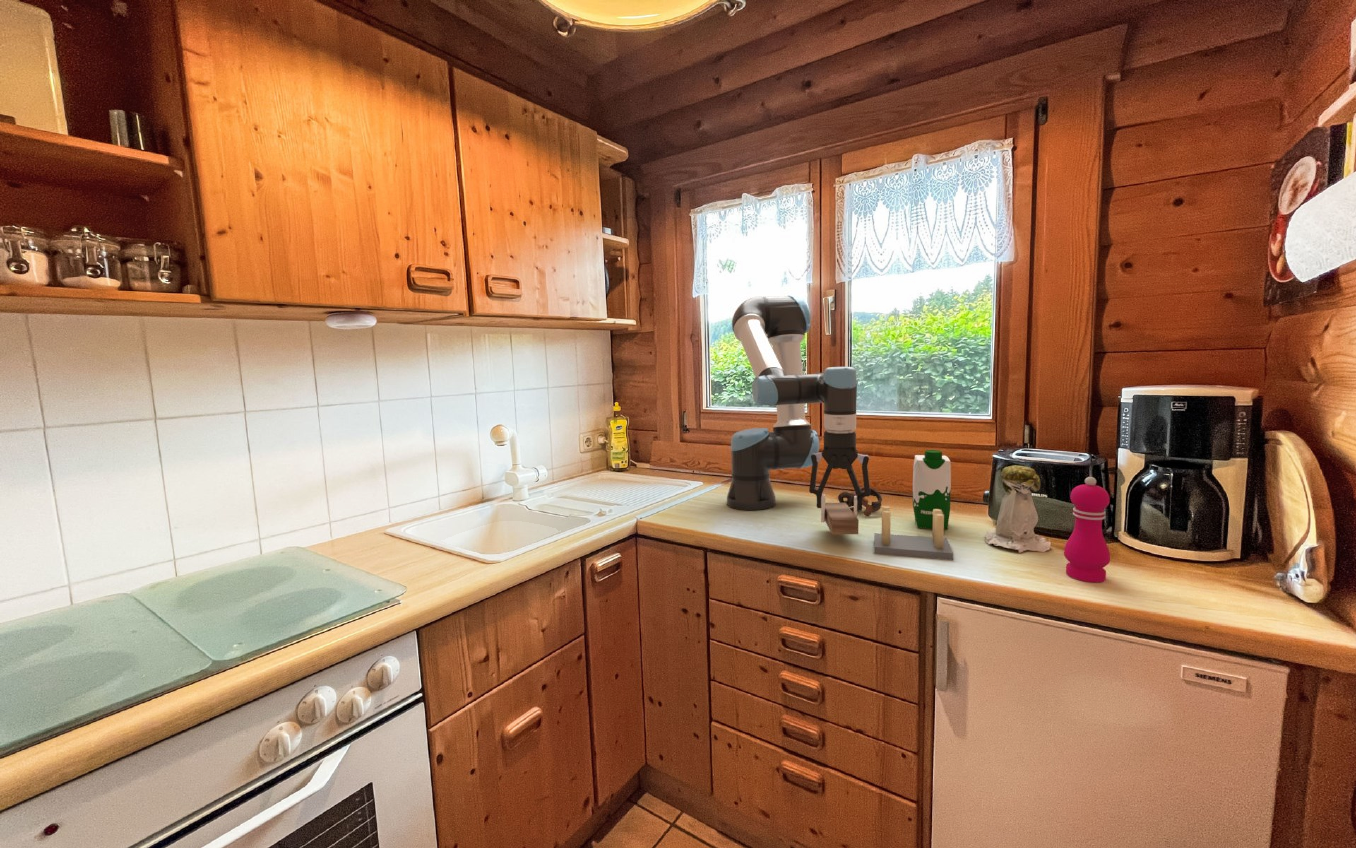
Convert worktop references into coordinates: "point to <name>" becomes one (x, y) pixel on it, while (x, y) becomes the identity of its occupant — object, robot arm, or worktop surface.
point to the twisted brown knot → (869, 508)
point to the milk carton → (931, 487)
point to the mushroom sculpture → (1018, 512)
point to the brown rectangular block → (840, 519)
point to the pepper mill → (1088, 534)
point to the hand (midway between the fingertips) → (839, 521)
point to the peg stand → (913, 540)
